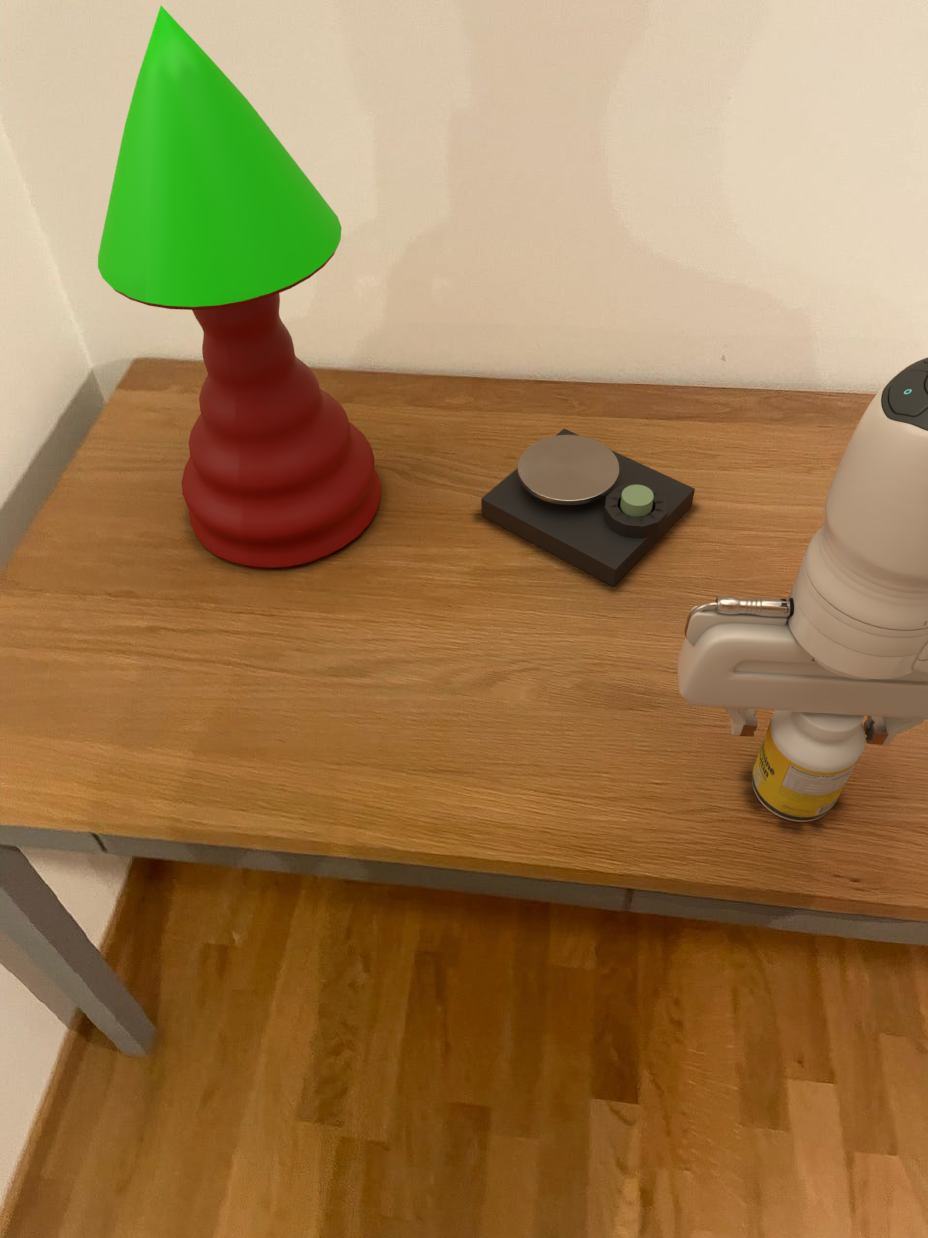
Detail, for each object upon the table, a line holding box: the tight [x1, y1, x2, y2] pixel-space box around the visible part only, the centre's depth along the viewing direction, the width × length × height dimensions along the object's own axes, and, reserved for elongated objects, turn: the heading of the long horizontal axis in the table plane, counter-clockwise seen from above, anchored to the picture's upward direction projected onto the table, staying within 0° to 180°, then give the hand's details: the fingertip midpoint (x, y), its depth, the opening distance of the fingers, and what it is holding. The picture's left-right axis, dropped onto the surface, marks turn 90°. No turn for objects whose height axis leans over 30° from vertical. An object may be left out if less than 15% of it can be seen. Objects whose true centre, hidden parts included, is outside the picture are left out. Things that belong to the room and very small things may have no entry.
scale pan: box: [517, 434, 619, 505], centre depth 91 cm, size 10×10×1 cm
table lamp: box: [97, 5, 382, 569], centre depth 79 cm, size 20×20×45 cm
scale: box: [480, 428, 696, 587], centre depth 92 cm, size 16×14×4 cm
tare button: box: [620, 485, 654, 517], centre depth 88 cm, size 3×3×2 cm
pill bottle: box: [751, 710, 866, 823], centre depth 68 cm, size 6×6×12 cm
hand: (807, 732), depth 66 cm, fingers open, 8 cm apart
